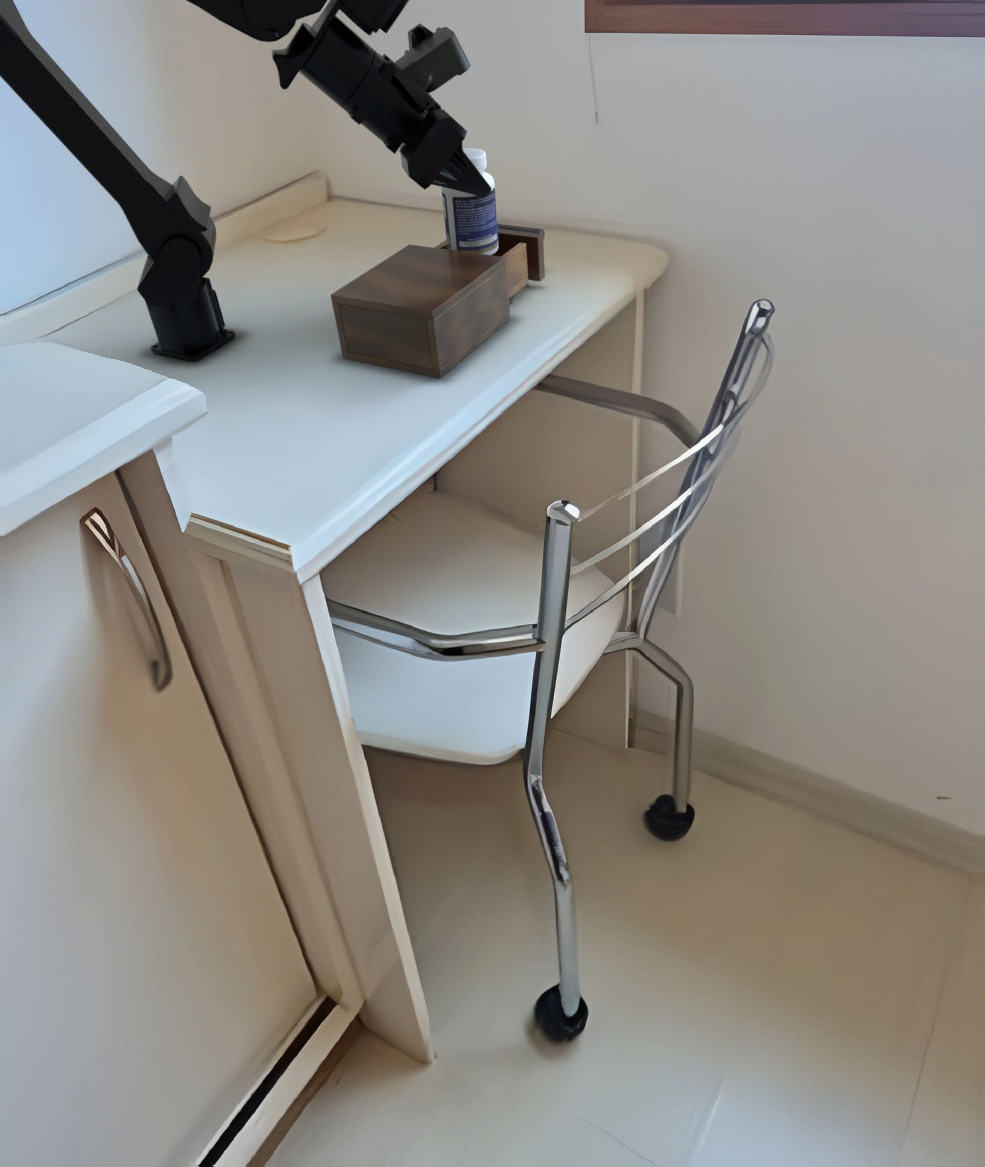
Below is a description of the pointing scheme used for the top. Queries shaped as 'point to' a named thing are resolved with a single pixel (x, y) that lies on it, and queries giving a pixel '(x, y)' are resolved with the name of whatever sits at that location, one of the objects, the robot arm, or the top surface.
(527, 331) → the top surface
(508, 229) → the drawer
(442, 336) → the cabinet
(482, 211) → the pill bottle
